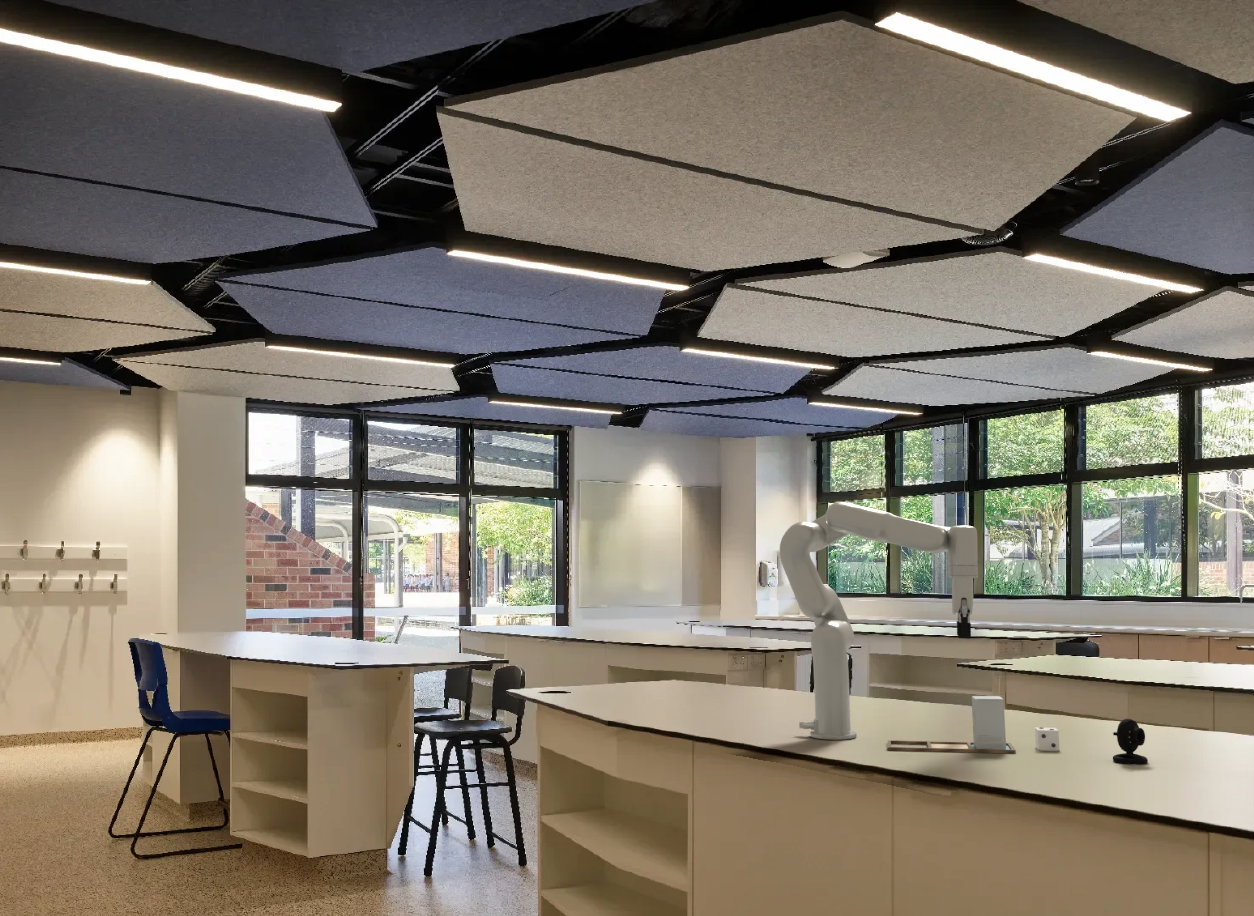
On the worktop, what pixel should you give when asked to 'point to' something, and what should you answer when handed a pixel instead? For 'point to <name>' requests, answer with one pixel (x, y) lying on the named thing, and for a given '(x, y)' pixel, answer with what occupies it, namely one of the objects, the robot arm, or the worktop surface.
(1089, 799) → the worktop surface
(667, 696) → the worktop surface
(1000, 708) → the supplement box
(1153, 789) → the worktop surface
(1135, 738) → the webcam
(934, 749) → the board
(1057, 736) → the die
